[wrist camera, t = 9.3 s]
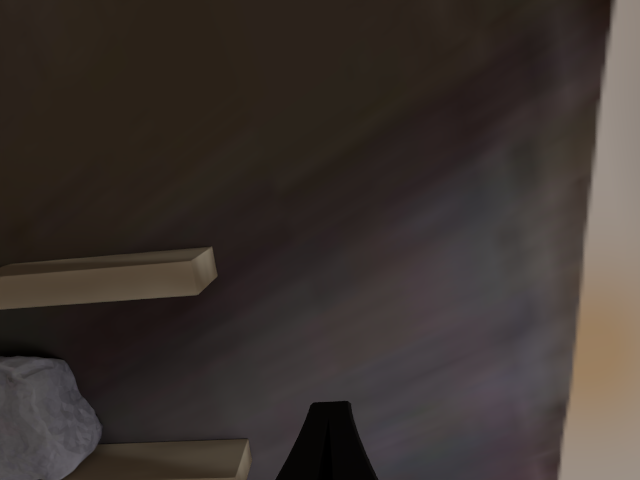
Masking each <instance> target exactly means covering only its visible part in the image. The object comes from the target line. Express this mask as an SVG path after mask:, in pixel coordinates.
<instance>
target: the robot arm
mask: <svg viewBox="0 0 640 480" xmlns="http://www.w3.org/2000/svg"><path fill="white" fill-rule="evenodd" d="M276 480H378V478H377V476H376V474H375V472H374V470H373V468H372V466H371V463H370V461H369V459H368V457H367V454H366V452H365V450H364V447H363V445H362V442H361V440H360V437H359V434H358V431H357V428H356V425H355V422H354V419H353V414H352V409H351V403H349V402H348V401H336V402H315V403H312V404H311V405H310V409H309V412H308V414H307V417H306V420H305V422H304V424H303V427H302V429H301V431H300V434H299V436H298V438H297V440H296V442H295V444H294V446H293V448H292V450H291V452H290V454H289V456H288V458H287V460H286V462H285V464H284V465H283V467H282V469H281V471H280V472H279V474H278V476H277V478H276Z"/></svg>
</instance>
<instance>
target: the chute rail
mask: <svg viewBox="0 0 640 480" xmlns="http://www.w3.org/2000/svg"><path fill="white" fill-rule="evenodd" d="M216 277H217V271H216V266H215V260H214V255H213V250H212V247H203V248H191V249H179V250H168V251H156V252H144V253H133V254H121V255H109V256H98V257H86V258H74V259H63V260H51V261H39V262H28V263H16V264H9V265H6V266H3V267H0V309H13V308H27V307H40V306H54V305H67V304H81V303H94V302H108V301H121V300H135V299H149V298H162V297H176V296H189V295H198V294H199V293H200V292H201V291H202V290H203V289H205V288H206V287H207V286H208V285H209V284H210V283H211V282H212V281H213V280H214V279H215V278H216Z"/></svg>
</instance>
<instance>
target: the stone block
mask: <svg viewBox="0 0 640 480" xmlns="http://www.w3.org/2000/svg"><path fill="white" fill-rule="evenodd" d="M102 429H103V426H102V424H101V423H100V422H99V420H98V418H97V416H96V415H95V411H94V410H93V409H92V408H91V406H90V405H89V403H88V402H87V401H86V400H85V398H83V397H82V396H81V394H80V392H79V391H78V388H77V385H76V381H75V377H74V375H73V373H72V371H71V370H70V368H69V365H68V364H67V363H66V362H65V361H64V360H61V359H54V358H41V357H34V356H32V357H24V356H15V357H3V356H0V480H38V479H43V480H60V479H63V478H64V477H65V476H67V475H68V474H70V473H71V472H73V471H74V470H75V469H76V468H77V466H78V465H79V464H80V463H81V462H82V461H83V460H84V459H85V458H86V457H87V456H88V455H90V454H91V453H92V452H93V451H94V449H95V448H96V446H97V444H98V442H99V440H100V439H101V436H102Z"/></svg>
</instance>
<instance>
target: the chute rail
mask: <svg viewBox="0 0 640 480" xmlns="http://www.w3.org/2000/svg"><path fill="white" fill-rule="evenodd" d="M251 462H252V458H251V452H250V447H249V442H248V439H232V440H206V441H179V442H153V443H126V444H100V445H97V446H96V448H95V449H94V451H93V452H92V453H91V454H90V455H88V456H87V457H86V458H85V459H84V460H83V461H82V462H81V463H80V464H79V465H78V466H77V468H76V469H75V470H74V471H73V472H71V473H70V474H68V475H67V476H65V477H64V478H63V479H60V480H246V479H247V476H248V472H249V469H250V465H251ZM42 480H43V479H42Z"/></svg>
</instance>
